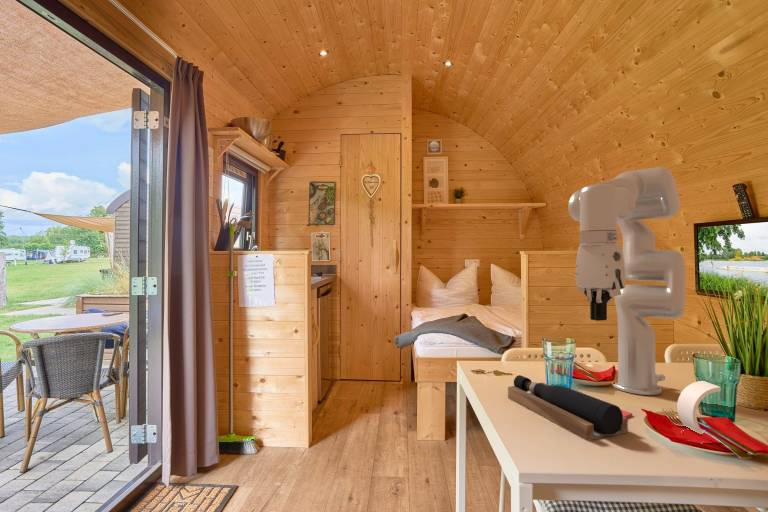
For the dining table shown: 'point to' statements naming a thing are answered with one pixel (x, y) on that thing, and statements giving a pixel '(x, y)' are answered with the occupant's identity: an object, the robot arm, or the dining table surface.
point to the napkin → (626, 414)
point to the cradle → (560, 415)
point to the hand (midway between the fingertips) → (598, 319)
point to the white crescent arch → (693, 403)
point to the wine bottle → (576, 404)
